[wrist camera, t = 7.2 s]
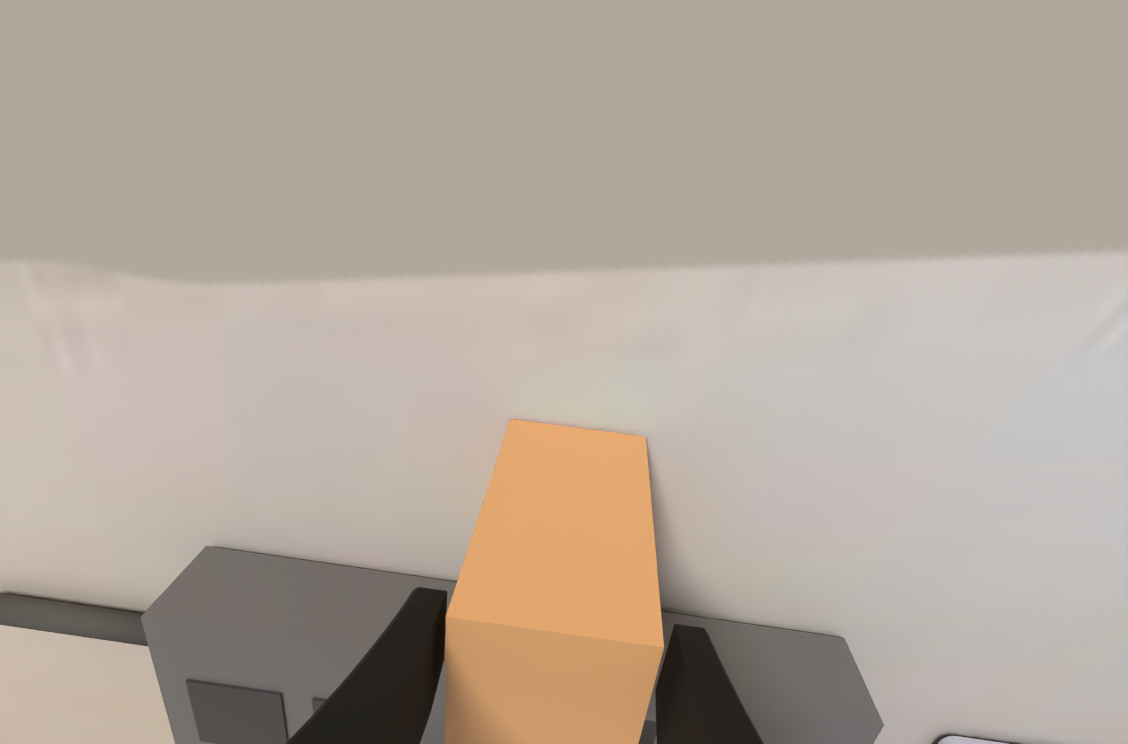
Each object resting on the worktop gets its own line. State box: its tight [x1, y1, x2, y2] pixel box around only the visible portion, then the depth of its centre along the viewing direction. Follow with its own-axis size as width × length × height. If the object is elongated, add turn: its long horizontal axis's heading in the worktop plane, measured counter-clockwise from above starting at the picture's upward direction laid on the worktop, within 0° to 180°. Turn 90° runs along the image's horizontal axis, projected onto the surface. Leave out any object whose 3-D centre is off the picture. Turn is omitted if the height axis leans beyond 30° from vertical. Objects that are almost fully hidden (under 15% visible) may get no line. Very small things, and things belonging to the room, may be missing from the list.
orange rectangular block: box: [445, 419, 664, 744], centre depth 14 cm, size 4×4×7 cm
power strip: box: [0, 546, 884, 744], centre depth 19 cm, size 31×8×3 cm, turn 83°
